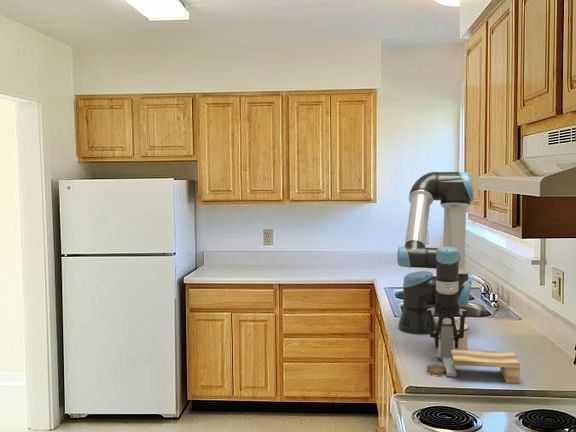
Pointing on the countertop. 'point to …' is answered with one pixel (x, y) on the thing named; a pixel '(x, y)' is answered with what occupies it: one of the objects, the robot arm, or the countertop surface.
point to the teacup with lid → (462, 341)
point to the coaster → (436, 369)
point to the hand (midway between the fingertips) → (446, 356)
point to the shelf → (490, 362)
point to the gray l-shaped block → (447, 348)
